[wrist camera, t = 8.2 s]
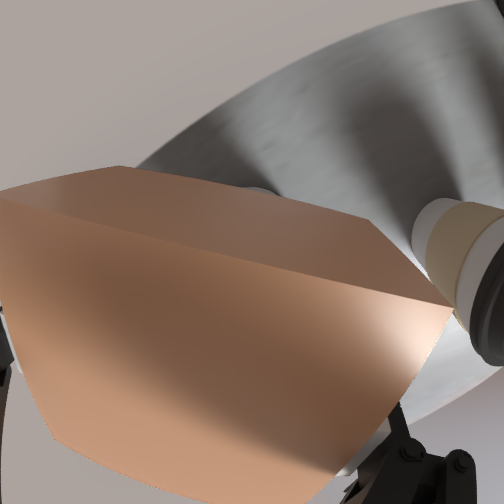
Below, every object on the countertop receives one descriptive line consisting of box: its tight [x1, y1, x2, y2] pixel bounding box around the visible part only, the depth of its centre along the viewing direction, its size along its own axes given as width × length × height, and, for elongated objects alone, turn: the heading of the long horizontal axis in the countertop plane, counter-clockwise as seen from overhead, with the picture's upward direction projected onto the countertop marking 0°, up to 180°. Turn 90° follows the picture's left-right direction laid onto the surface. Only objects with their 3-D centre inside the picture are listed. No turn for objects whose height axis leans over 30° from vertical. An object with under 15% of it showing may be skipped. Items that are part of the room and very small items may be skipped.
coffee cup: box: [411, 198, 504, 366], centre depth 16 cm, size 9×9×15 cm
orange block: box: [0, 166, 454, 504], centre depth 10 cm, size 11×11×7 cm
